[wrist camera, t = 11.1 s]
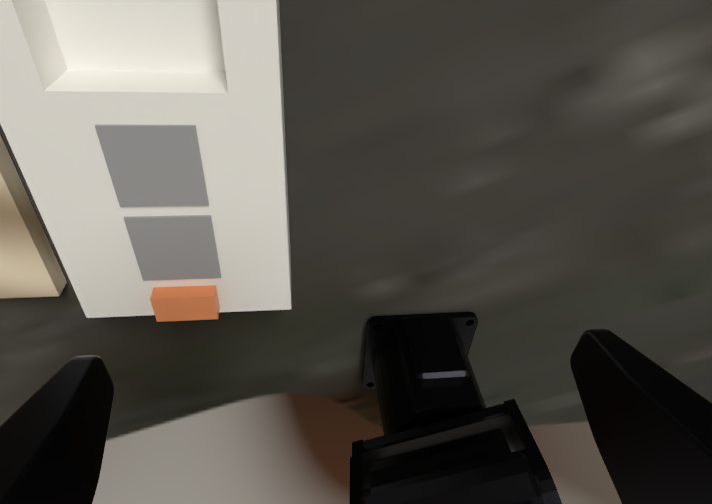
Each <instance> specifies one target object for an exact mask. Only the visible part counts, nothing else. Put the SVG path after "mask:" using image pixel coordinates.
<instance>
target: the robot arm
mask: <svg viewBox="0 0 712 504" xmlns="http://www.w3.org/2000/svg"><path fill="white" fill-rule="evenodd" d="M468 320H469V321H468ZM377 324H378V325H377ZM477 324H478V319H477V317H476V315H475V313H473V312H460V313H438V314H416V315H394V316H376V317H372V318H370V319H369V320H368V324H367V334H366V345H365V355H364V365H363V375H362V384H363V387H364V388H365V389H376V390H377V396H378V402H379V408H380V414H381V420H382V426H383V432H384V436H381V437H377V438H373V439H370V440H366V441H363V440H359V441H355V442H353V443H352V457H351V458H350V504H562V502H561V500H560V497H559V494H558V492H557V489H556V487H555V484H554V482H553V479H552V477H551V474H550V472H549V469H548V467H547V465H546V463H545V461H544V459H543V457H542V455H541V453H540V451H539V448H538V446H537V444H536V442H535V440H534V438H533V436H532V434H531V432H530V430H529V428H528V426H527V424H526V422H525V420H524V418H523V416H522V414H521V412H520V410H519V408H518V406H517V404H516V402H515V400H514V399H511V400H507V401H504V403H503V404H500V405H496V406H492V407H489V408H486V406H485V403H484V400H483V397H482V395H481V392H480V389H479V386H478V384H477V381H476V378H475V375H474V373H473V370H472V367H471V364H470V362H469V359H468V353H469V349H470V346H471V343H472V340H473V337H474V334H475V330H476V327H477ZM570 363H571V369H572V372H573V375H574V378H575V381H576V385H577V388H578V391H579V394H580V397H581V400H582V403H583V406H584V410H585V413H586V416H587V419H588V422H589V425H590V428H591V431H592V434H593V437H594V439H595V442H596V444H597V447H598V449H599V452H600V454H601V456H602V458H603V461H604V463H605V465H606V467H607V470H608V472H609V474H610V477H611V479H612V481H613V484H614V486H615V488H616V490H617V493H618V495H619V497H620V500H621V502H622V504H712V403H711V402H709V401H708V400H706V399H705V398H704V397H702V396H701V395H699V394H698V393H697V392H695V391H694V390H692V389H691V388H689V387H688V386H687V385H685V384H684V383H682V382H681V381H680V380H678V379H677V378H675V377H674V376H673V375H671V374H670V373H668V372H667V371H666V370H664V369H663V368H661V367H660V366H659V365H657V364H656V363H654V362H653V361H652V360H650V359H649V358H647V357H646V356H645V355H643V354H642V353H640V352H639V351H638V350H636V349H635V348H633V347H632V346H631V345H629V344H628V343H626V342H625V341H624V340H622V339H621V338H619V337H618V336H617V335H615V334H614V333H612V332H611V331H609V330H606V329H594V330H587V331H585V332H584V333H583V334H582V336H581V338H580V340H579V342H578V344H577V346H576V347H575V349H574V351H573V353H572V355H571V361H570ZM113 395H114V386H113V382H112V380H111V377H110V375H109V373H108V371H107V369H106V366H105V364H104V362H103V360H102V358H101V357H100V356H98V355H86V356H75V357H73V358H71V359H70V360H69V361H68V362H67V363H66V364H65V365H63V366H62V367H61V368H60V369H59V370H58V371H57V372H56V373H55V374H54V375H53V376H52V377H51V378H50V379H49V380H48V381H47V382H46V383H45V384H44V385H43V386H42V387H41V388H40V389H39V390H38V391H36V392H35V393H34V394H33V395H32V396H31V397H30V398H29V399H28V400H27V401H26V402H25V403H24V404H23V405H22V406H21V407H20V408H19V409H18V410H17V411H16V412H15V413H14V414H13V415H12V416H11V417H10V418H8V419H7V420H6V421H5V422H4V423H3V424H2V425H1V426H0V504H92V502H93V498H94V495H95V491H96V487H97V484H98V480H99V475H100V470H101V465H102V459H103V453H104V447H105V442H106V436H107V430H108V424H109V419H110V413H111V407H112V401H113Z"/></svg>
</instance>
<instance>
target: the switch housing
mask: <svg viewBox="0 0 712 504" xmlns="http://www.w3.org/2000/svg"><path fill="white" fill-rule="evenodd" d="M0 124H1V126H2V128H3V131H4V133H5V135H6V137H7V140H8V142H9V144H10V146H11V149H12V151H13V153H14V155H15V158H16V160H17V162H18V164H19V167H20V169H21V171H22V173H23V176H24V178H25V180H26V182H27V185H28V187H29V189H30V191H31V194H32V196H33V198H34V200H35V203H36V205H37V207H38V209H39V212H40V214H41V216H42V218H43V221H44V223H45V225H46V227H47V230H48V232H49V234H50V236H51V239H52V241H53V243H54V245H55V248H56V250H57V252H58V254H59V257H60V259H61V261H62V263H63V266H64V268H65V270H66V272H67V275H68V277H69V279H70V281H71V284H72V286H73V288H74V290H75V293H76V295H77V297H78V299H79V302H80V304H81V306H82V308H83V311H84V313H85V315H86V317H87V318H98V317H122V316H146V315H155V317H156V320H157V322H164V321H187V320H210V319H218V317H219V312H241V311H264V310H288V309H291V255H290V233H289V211H288V189H287V167H286V145H285V123H284V101H283V79H282V57H281V35H280V13H279V0H0Z"/></svg>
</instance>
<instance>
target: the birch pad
mask: <svg viewBox="0 0 712 504" xmlns="http://www.w3.org/2000/svg"><path fill="white" fill-rule="evenodd" d="M66 283H67V281H66V279H65V277H64V274H63V272H62V270H61V268H60V266H59V263H58V261H57V259H56V257H55V255H54V252H53V250H52V248H51V246H50V243H49V241H48V239H47V237H46V235H45V232H44V230H43V228H42V226H41V224H40V221H39V219H38V217H37V215H36V212H35V210H34V208H33V206H32V204H31V201H30V199H29V197H28V195H27V192H26V190H25V188H24V186H23V184H22V181H21V179H20V177H19V175H18V173H17V170H16V168H15V166H14V164H13V161H12V159H11V157H10V155H9V153H8V150H7V148H6V146H5V144H4V142H3V139H2V137H1V135H0V298H24V297H51V296H60V294H61V292H62V290H63V288H64V286H65V285H66Z"/></svg>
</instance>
